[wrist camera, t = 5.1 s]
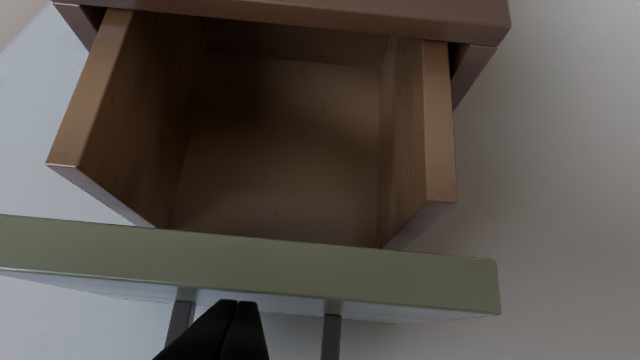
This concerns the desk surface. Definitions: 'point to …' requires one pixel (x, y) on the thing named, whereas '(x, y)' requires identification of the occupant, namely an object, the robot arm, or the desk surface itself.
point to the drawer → (258, 175)
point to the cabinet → (340, 22)
